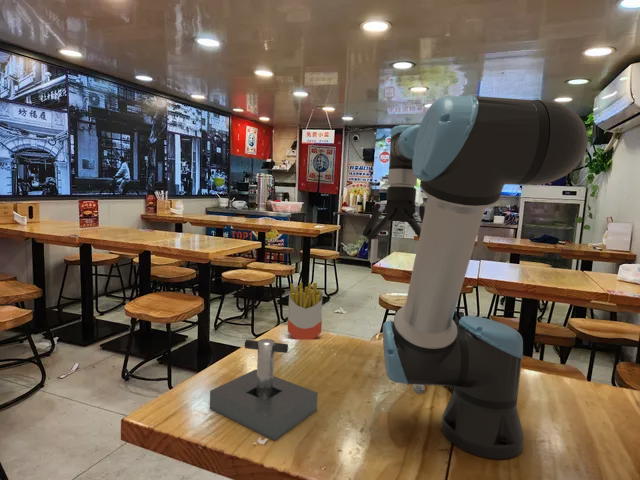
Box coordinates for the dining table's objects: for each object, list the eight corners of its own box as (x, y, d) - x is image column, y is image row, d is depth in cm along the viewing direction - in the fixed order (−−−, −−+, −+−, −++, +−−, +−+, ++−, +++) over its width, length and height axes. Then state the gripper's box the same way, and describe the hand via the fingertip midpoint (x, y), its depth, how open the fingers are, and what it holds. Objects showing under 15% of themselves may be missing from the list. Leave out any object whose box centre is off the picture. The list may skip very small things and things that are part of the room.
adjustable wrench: (425, 396, 96) (425, 389, 96) (398, 392, 97) (398, 385, 97) (423, 357, 120) (423, 351, 120) (401, 354, 122) (401, 349, 121)
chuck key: (286, 407, 86) (289, 341, 85) (282, 416, 83) (285, 346, 81) (246, 402, 88) (248, 336, 86) (240, 410, 84) (243, 342, 83)
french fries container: (320, 340, 129) (323, 285, 127) (287, 339, 128) (290, 284, 126) (319, 335, 134) (322, 282, 132) (287, 334, 133) (289, 281, 131)
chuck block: (316, 410, 86) (317, 392, 86) (274, 440, 74) (275, 420, 74) (255, 385, 96) (255, 369, 96) (209, 408, 84) (210, 390, 84)
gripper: (453, 188, 101) (446, 270, 104) (366, 186, 115) (361, 258, 117) (444, 186, 95) (437, 274, 97) (353, 184, 109) (349, 261, 111)
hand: (396, 265), depth 107 cm, fingers open, 13 cm apart
